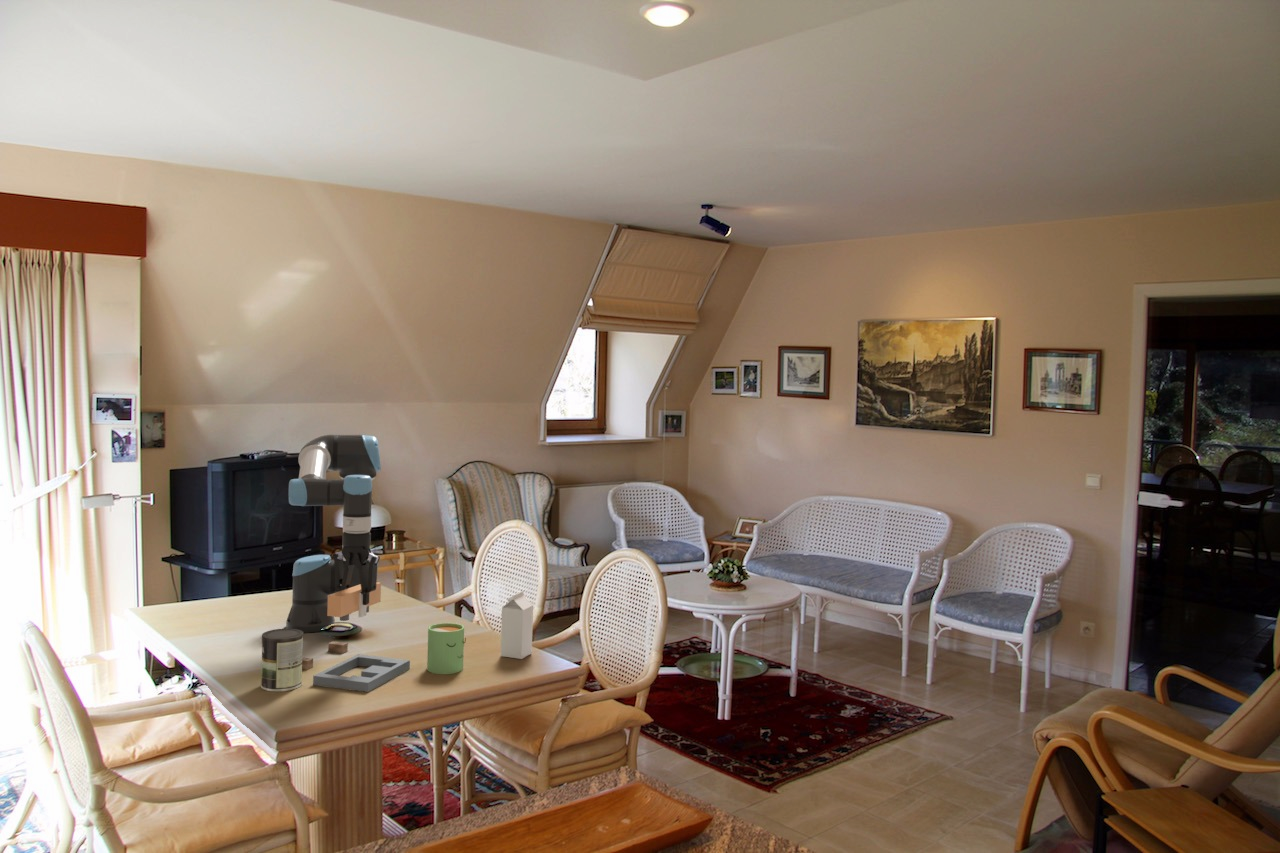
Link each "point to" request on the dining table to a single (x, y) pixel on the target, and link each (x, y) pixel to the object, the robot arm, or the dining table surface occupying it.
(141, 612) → the dining table surface
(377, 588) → the strip
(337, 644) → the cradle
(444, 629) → the mug
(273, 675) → the coffee can
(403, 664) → the board with u-shaped cutout
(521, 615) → the milk carton
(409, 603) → the dining table surface
